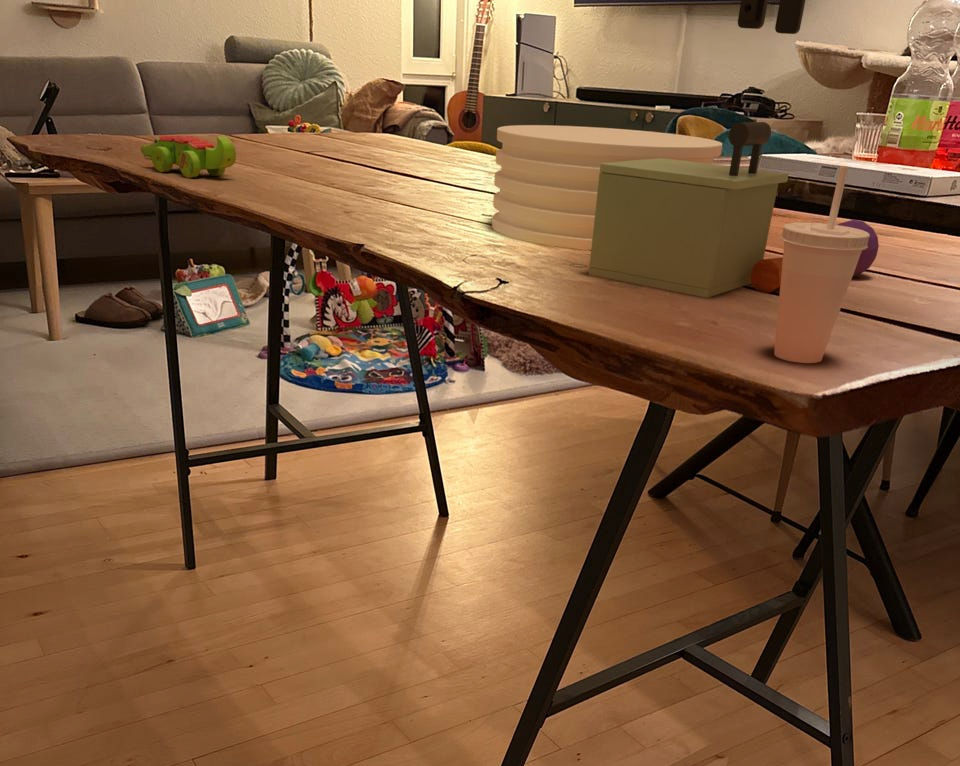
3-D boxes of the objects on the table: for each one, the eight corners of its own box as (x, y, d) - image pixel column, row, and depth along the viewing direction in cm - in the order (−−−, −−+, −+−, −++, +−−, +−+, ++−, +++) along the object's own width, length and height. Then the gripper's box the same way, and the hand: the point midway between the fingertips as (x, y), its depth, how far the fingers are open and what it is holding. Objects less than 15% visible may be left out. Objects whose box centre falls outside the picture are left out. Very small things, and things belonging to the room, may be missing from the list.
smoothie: (776, 369, 74) (819, 168, 67) (744, 346, 80) (781, 159, 72) (853, 370, 75) (903, 172, 68) (816, 347, 81) (860, 162, 73)
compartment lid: (787, 182, 98) (799, 123, 96) (734, 190, 89) (746, 125, 87) (659, 166, 106) (667, 111, 103) (599, 172, 97) (605, 112, 94)
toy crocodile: (135, 167, 159) (130, 126, 156) (170, 166, 163) (166, 125, 160) (209, 182, 148) (205, 137, 145) (244, 180, 153) (241, 137, 150)
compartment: (759, 282, 104) (778, 181, 99) (707, 299, 95) (725, 189, 90) (646, 261, 111) (659, 166, 106) (588, 275, 102) (599, 172, 97)
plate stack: (703, 226, 137) (718, 135, 131) (709, 261, 113) (727, 152, 107) (508, 210, 140) (514, 121, 134) (474, 240, 116) (479, 134, 110)
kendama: (739, 246, 99) (839, 217, 110) (739, 306, 102) (837, 272, 113) (791, 244, 95) (890, 214, 106) (790, 307, 98) (886, 272, 109)
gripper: (823, -224, 73) (777, 29, 82) (882, -185, 83) (835, 36, 91) (732, -216, 77) (697, 25, 85) (799, -180, 87) (761, 33, 95)
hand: (768, 31), depth 88 cm, fingers open, 8 cm apart
